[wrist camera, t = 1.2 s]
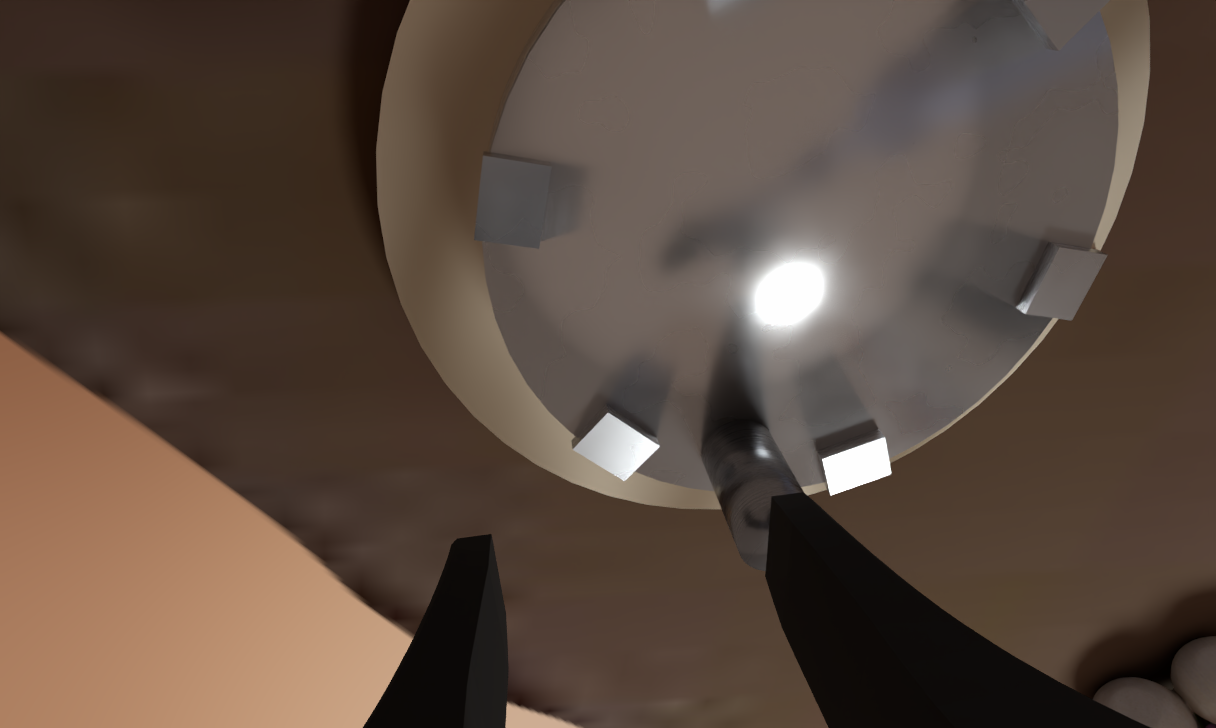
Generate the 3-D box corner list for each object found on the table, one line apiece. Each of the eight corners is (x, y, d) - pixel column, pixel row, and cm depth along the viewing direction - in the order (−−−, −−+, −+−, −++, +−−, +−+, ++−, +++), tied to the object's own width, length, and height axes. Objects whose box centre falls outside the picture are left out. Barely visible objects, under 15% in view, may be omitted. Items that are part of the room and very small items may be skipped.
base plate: (1258, -144, 17) (1327, -153, 16) (930, 497, 27) (955, 529, 25) (408, -411, 13) (398, -457, 12) (370, 458, 23) (361, 493, 21)
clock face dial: (1177, -50, 17) (1448, -50, 12) (923, 467, 24) (1030, 596, 19) (522, -228, 13) (537, -326, 9) (452, 430, 20) (439, 573, 16)
